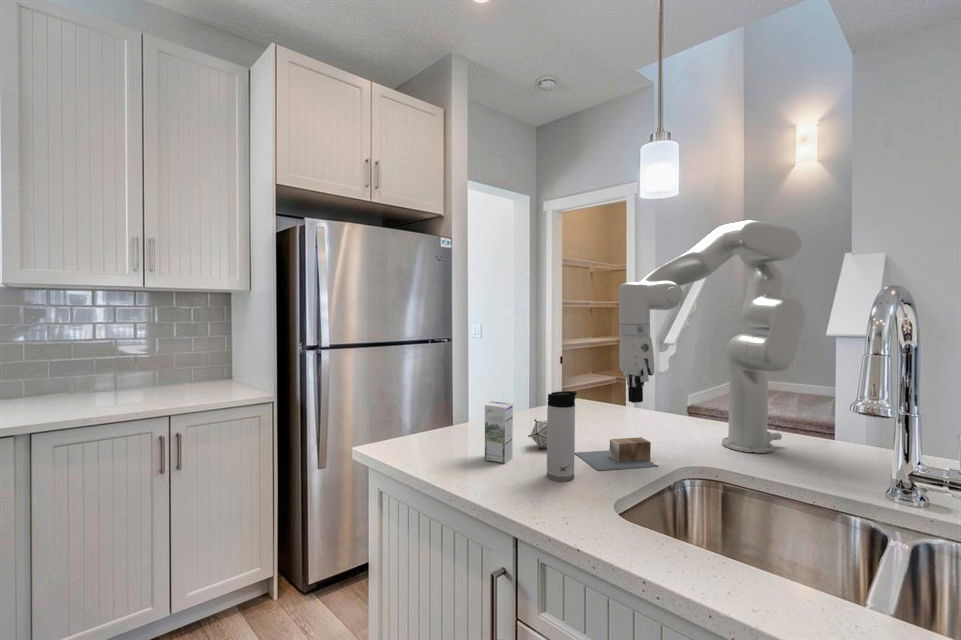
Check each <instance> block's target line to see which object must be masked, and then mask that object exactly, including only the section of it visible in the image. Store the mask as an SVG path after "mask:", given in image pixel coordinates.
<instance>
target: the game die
mask: <svg viewBox="0 0 961 640" xmlns="http://www.w3.org/2000/svg"><path fill="white" fill-rule="evenodd" d="M534 422H535V424H534V426H533V428H532V431H531V433H530V434H528V435H527V437H528V438H532V439H533V441H534V443H535V444H536V445H537V446H538V451H541V449H542V448H547V420H539V421H538V420H537V419H536V418H534Z"/></svg>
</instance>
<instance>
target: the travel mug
mask: <svg viewBox="0 0 961 640" xmlns="http://www.w3.org/2000/svg"><path fill="white" fill-rule="evenodd" d="M577 394H578V393H577V391H576V390H562V391H553V392H551V393H548V394H547V400H548V401H547V406H546V407H547V409H546V411H547V416H546V417H547V418H546V421H547V447H546V476H547V478H548V479H550V480H552V481H556V482H569V481H571V480H573V479H574V478H575V455H576V454H575V453H576V452H575V450H576V449H575V447H576V446H575V442H576V440H575V439H576V438H575V437H576V436H575V434H576V430H575V429H576V409H575V408H576V403H575V402H576V396H577Z"/></svg>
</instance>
